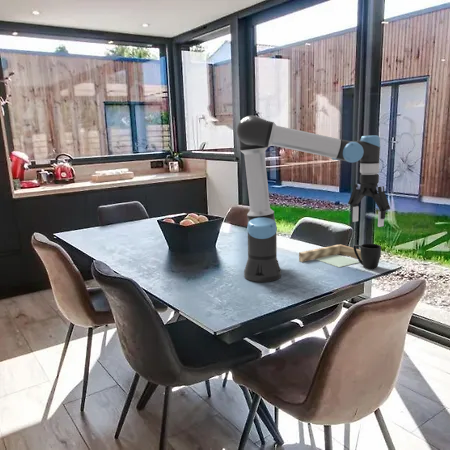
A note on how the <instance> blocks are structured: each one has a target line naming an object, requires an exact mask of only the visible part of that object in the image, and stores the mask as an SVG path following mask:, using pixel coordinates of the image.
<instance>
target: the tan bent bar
mask: <svg viewBox="0 0 450 450" xmlns="http://www.w3.org/2000/svg"><path fill="white" fill-rule="evenodd" d="M356 250H357V253H358V255H359V257H360V259H361V248H360V249H359V248H356ZM335 254H337V255H343V256H345V257H346V256H347V257H349V256H351V257H350V258H353V259H356V260H358V258H357V256H356V254H355V252H354V248H353V247H352V246H348V245H344V244H341V243H340V244H334V245H330V246H324V247H321V248H320V247H319V248H315V249H314V248H313V249H309V250H306V251H305V250H304V251H300V252H298V261H299V262H301V263H304V262H308V261H312V260H315V259H317V258H322V257H326V256H331V255H335Z"/></svg>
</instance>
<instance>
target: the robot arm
mask: <svg viewBox="0 0 450 450" xmlns="http://www.w3.org/2000/svg"><path fill="white" fill-rule="evenodd" d="M236 134H237V138H238V141H239V151H240V152H241V153H242V154H243V157H244V165H245V172H246V173H245V175H246V176H245V177H246V183H247V192H248V194H247V195H248V201H249V210H248V212H247V214H246V216H247V217H246V218H247V227H246V231H247V261H246V264H245V267H244V271H243V277H244V278H245V279H246V280H248V281H250V282H257V283H267V282H274V281H277V280H279V279H280V278H281V277H282V271H281V268H280V263H279V262H278V261H279V260H278V257H277V247H278V246H277V244H278V243H277V239H278V238H277V234H278V233H277V231H278V227H277V223H276V221H275V220H276V219H275V218H276V217H275V210H273V209H272V208H271V206H270V203H271V202H270V195H269V183H268V173H267V165H266V164H267V162H266V154H265V153H266V151H267V150H268V148H270V147H271V146H274V147H277V148H278V147H279V148H283V149H289V150H293V151H297V152H302V153H307V154H310V155H311V154H313V155H316V156H317V155H318V156H321V157H325V158H326V157H327V158H331V160H332V161H344V162H347V163H357V162H358V161H360V163H359V166H360V167H359V173H360V174H359V183H355V184H354V187H353V191H352V193H351V195H350V197H349V200H348V202H347V205H350V206H351V214H352V223H355V222H359V213H360V212H359V203H360V202H361V201H362V200H363V198H364V197H371V198H372V199H373V201H374V203H375V204H376V206H377V208H378V209H379V210H378V213H377V214H378V215H377V227H378V228H381V227H384V226H385V219H386V215H387V214H386V212H387V211H389V210H391V205H390V203H389V201H388V198H387V195H386V192H385V186H384V185H382V186H381V185H380V186H378V185H379V181H380V174H379V172H380V155H381V137H380V136H379V135H362V136H361V138H360V139H359V140H357V141H356V140H353V141H352V140H351V141H350V140H346V139H341V138H338V137H337V138H336V137H333V136H332V137H331V136H327V135H322V134H317V133H312V132H307V131H303V130H299V129H294V128H291V127H290V128H289V127H286V126H280V125H277V124H276V122H275V121H270V120H266V119H264V118H261V117H259V116H257V115H247V116H244V117H243V118H242V119H240V121H239V122H238V123H237V127H236Z"/></svg>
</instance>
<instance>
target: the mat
mask: <svg viewBox="0 0 450 450" xmlns="http://www.w3.org/2000/svg"><path fill="white" fill-rule="evenodd" d="M314 260H315V261H318V262H321V263H324V264H327V265H330V266H333V267H336V268H343V267H348V266H351V265H356V264H361V263H360V262H359V260H357V259H356V260H355V259H354V258H353V259H352V258H351V257H346V256H344V255H343V256H342V255H341V254H335V255H331V256H326V257H322V258H317V259H314Z"/></svg>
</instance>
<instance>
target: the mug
mask: <svg viewBox="0 0 450 450" xmlns="http://www.w3.org/2000/svg"><path fill="white" fill-rule="evenodd" d="M357 247H359V248H360V250H361V259H360V257H359V255H358V253H357V250H356V249H357ZM352 248H354V252H355V254H356V256H357V258H358V259H357V261H359V262H360V263H359V264H360V265H362V266H363V267H362V268H364V269H366V270H377V268H378V265H379V263H380V259H381V255H382V253H381V252H382V245H380V244H377V243H376V244H375V243H363V244H361V245H359V244H354V245H353V247H352Z"/></svg>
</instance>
